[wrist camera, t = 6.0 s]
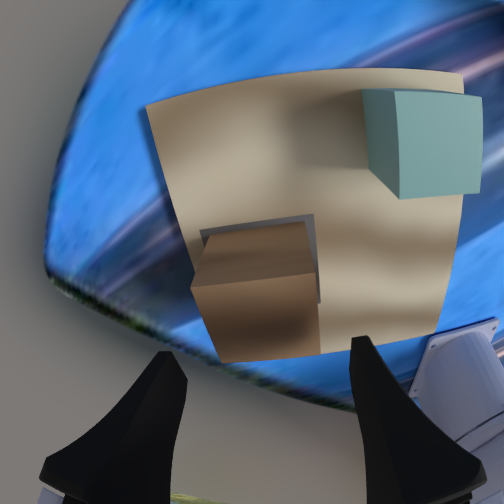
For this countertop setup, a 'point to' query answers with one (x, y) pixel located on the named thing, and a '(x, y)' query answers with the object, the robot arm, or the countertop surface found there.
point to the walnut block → (259, 294)
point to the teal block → (424, 141)
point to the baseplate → (314, 192)
